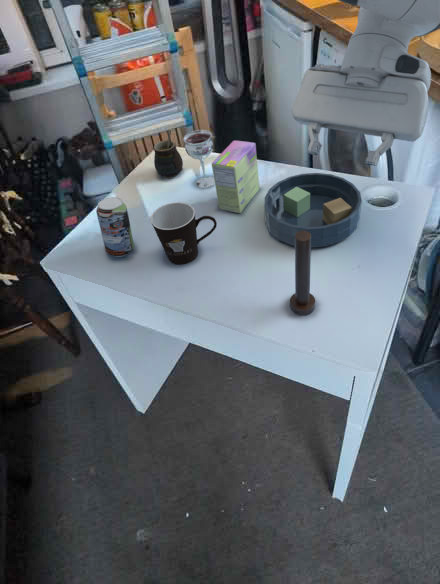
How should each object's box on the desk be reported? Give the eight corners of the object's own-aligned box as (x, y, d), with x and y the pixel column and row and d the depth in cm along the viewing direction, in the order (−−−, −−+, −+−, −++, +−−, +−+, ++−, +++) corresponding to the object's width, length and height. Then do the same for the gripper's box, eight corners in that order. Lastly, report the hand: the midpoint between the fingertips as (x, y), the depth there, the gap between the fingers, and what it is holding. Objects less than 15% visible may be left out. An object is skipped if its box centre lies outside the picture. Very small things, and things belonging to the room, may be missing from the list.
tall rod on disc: (318, 299, 77) (321, 228, 65) (311, 318, 74) (313, 247, 62) (293, 294, 78) (292, 224, 67) (286, 312, 76) (284, 242, 64)
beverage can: (102, 257, 93) (82, 211, 84) (122, 236, 97) (105, 191, 88) (125, 264, 90) (106, 217, 82) (145, 242, 94) (129, 196, 86)
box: (238, 185, 105) (233, 139, 96) (260, 189, 103) (256, 142, 94) (218, 209, 99) (210, 163, 91) (240, 214, 97) (234, 167, 88)
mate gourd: (153, 181, 111) (143, 145, 104) (162, 165, 116) (153, 130, 109) (179, 181, 110) (171, 145, 102) (187, 165, 115) (180, 129, 107)
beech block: (350, 223, 88) (351, 207, 86) (333, 230, 88) (334, 213, 85) (339, 213, 91) (340, 197, 88) (322, 219, 90) (323, 203, 88)
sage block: (310, 208, 94) (310, 193, 91) (297, 217, 92) (297, 201, 89) (296, 201, 96) (296, 186, 93) (283, 210, 94) (283, 194, 92)
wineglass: (187, 187, 107) (177, 142, 99) (201, 172, 111) (192, 128, 102) (210, 192, 104) (202, 146, 96) (224, 177, 108) (217, 131, 100)
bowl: (366, 200, 94) (369, 178, 90) (347, 257, 83) (350, 235, 79) (281, 189, 101) (280, 169, 97) (253, 241, 90) (251, 220, 86)
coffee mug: (155, 264, 89) (142, 226, 82) (174, 238, 94) (163, 199, 87) (206, 275, 85) (197, 235, 78) (223, 246, 90) (216, 207, 83)
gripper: (301, 53, 68) (274, 141, 70) (440, 64, 58) (404, 165, 60) (313, 72, 73) (287, 153, 75) (441, 84, 64) (409, 176, 66)
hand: (340, 159), depth 68 cm, fingers open, 8 cm apart
